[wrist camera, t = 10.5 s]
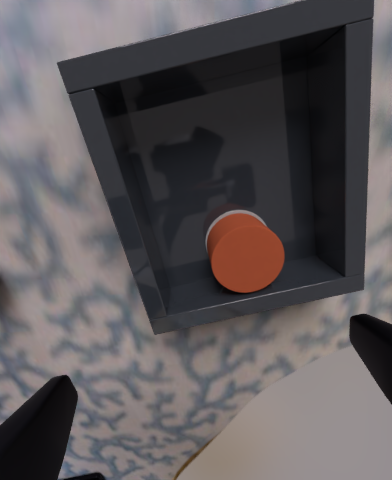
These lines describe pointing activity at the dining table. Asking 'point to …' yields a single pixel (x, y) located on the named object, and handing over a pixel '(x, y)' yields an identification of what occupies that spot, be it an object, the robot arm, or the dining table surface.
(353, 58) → the dark grey open box
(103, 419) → the dining table surface
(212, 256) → the stopper
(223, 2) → the dining table surface
